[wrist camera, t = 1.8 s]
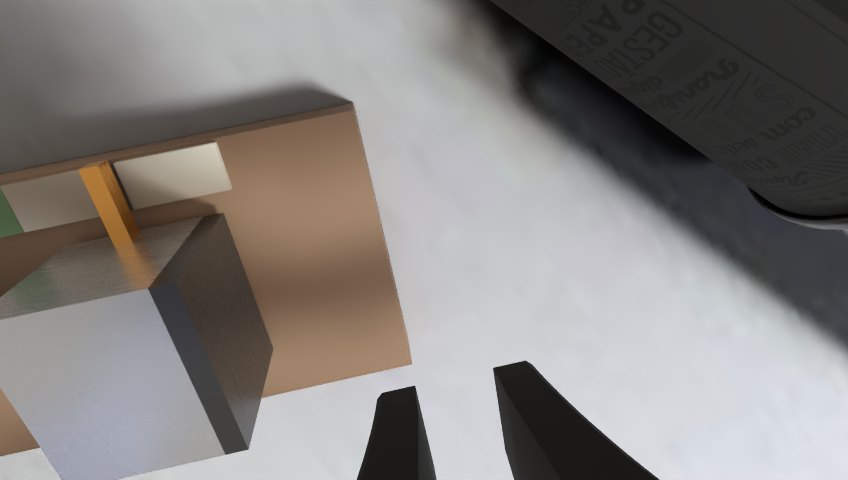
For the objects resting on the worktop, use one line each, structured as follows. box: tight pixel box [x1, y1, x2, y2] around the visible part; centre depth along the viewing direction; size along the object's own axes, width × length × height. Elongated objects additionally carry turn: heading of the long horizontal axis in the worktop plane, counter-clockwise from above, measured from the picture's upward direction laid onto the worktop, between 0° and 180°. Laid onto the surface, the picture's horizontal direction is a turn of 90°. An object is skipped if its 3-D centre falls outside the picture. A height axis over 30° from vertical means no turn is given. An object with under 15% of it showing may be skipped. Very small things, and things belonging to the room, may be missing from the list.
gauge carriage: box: [0, 160, 274, 480], centre depth 14 cm, size 7×5×4 cm, turn 10°
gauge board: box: [0, 103, 412, 456], centre depth 15 cm, size 9×18×6 cm, turn 100°
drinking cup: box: [490, 0, 848, 230], centre depth 14 cm, size 8×8×20 cm
